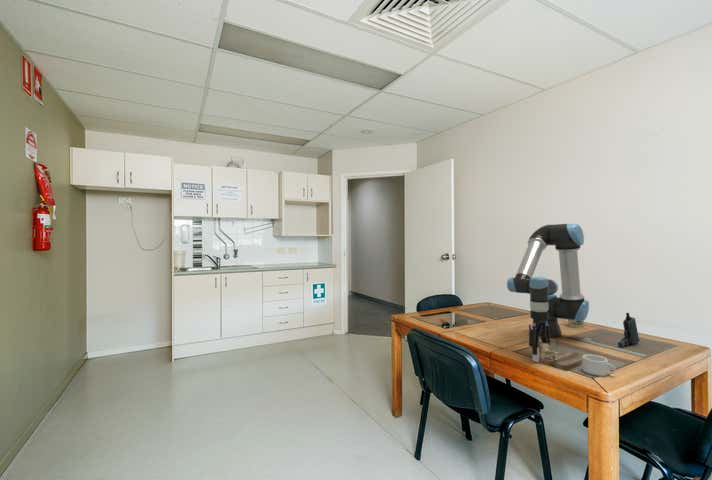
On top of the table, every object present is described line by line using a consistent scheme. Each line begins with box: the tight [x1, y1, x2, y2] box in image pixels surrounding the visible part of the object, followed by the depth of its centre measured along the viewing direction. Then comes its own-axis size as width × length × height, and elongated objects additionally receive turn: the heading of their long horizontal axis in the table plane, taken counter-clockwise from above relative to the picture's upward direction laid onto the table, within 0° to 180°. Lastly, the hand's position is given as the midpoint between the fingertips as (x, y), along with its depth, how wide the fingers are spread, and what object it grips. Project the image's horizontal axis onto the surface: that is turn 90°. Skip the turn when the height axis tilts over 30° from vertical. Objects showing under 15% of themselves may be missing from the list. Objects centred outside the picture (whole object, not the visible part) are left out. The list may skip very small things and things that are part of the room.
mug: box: [580, 354, 617, 377], centre depth 139 cm, size 12×10×6 cm
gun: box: [617, 312, 641, 349], centre depth 170 cm, size 3×17×15 cm
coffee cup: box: [567, 319, 585, 329], centre depth 208 cm, size 9×9×12 cm
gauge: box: [531, 341, 559, 364], centre depth 152 cm, size 10×5×8 cm, turn 31°
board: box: [543, 350, 584, 372], centre depth 151 cm, size 10×20×2 cm, turn 121°
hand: (540, 359), depth 154 cm, fingers open, 6 cm apart
